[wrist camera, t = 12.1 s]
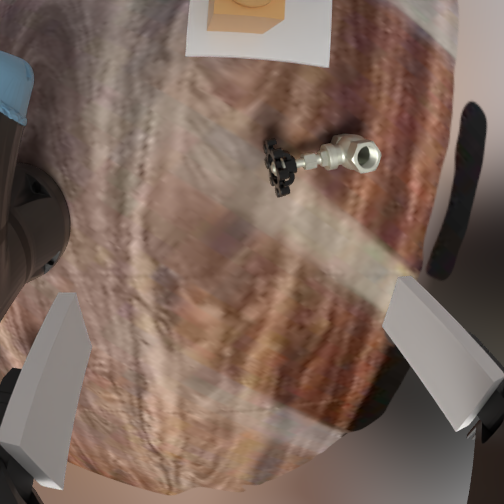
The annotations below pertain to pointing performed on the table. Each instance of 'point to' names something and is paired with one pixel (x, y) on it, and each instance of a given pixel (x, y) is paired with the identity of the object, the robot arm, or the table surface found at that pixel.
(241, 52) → the plate
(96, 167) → the table surface
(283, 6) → the domed tan cube
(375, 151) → the valve
